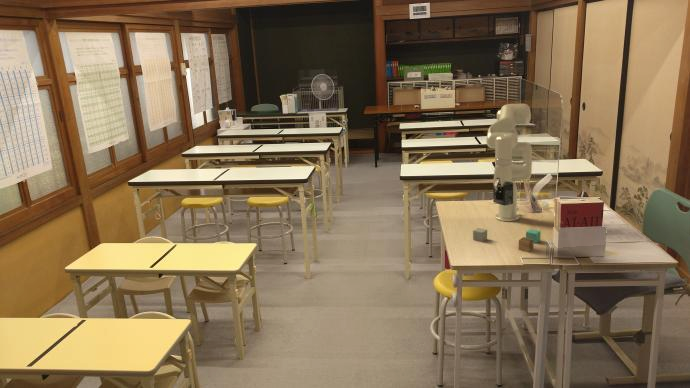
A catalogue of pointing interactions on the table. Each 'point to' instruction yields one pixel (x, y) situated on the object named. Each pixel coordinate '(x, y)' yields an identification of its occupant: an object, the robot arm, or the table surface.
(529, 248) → the walnut cube
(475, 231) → the slate cube
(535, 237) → the teal cube
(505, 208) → the robot arm
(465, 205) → the table surface
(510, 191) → the box
